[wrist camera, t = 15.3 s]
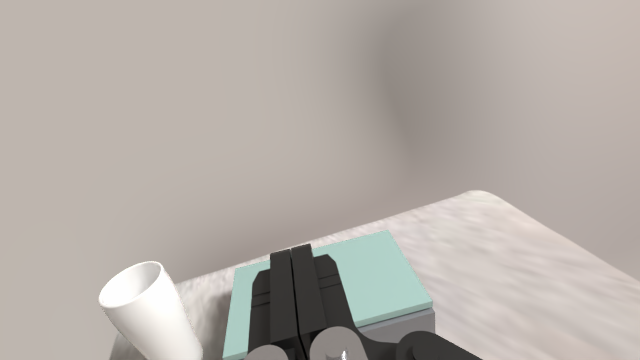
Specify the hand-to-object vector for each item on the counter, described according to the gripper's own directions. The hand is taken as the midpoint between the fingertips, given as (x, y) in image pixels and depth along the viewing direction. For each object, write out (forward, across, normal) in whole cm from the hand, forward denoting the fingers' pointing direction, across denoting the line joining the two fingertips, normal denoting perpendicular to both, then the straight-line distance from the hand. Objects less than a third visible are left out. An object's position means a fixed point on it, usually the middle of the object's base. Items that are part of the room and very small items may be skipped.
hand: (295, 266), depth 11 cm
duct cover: (+21, 0, +23) cm, 31 cm away
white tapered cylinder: (+19, +20, +28) cm, 39 cm away
